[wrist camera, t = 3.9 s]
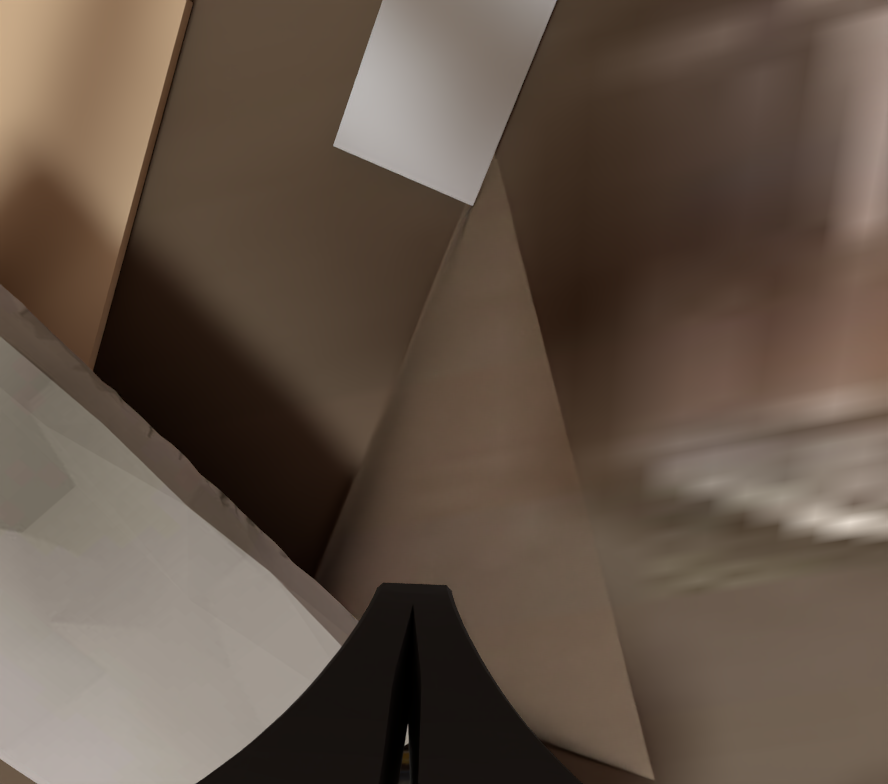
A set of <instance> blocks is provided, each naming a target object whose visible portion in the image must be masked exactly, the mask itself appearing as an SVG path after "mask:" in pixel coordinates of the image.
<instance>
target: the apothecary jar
mask: <svg viewBox="0 0 888 784" xmlns="http://www.w3.org/2000/svg"><path fill="white" fill-rule="evenodd" d="M399 784H410V765H409V749H404V752H403V759H402V765H401V771H400V777H399Z"/></svg>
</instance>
